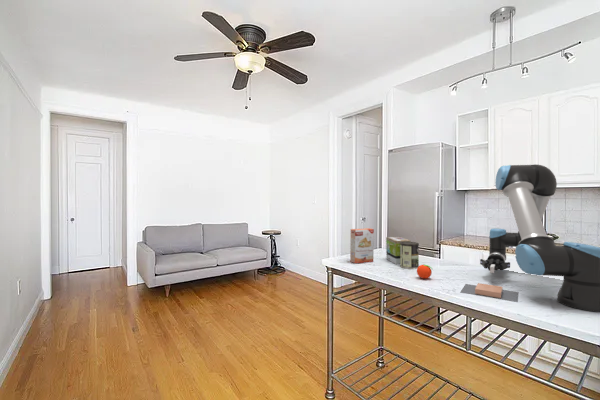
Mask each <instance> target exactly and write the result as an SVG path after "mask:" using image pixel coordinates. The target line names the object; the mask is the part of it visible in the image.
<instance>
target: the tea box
mask: <svg viewBox="0 0 600 400" xmlns="http://www.w3.org/2000/svg"><path fill="white" fill-rule="evenodd" d="M385 238H386V239H385V242H386V243H385V244H386V245H385V247H386V248H385V249H386V251H385V253H386V258H385V259H387V261H389V262H392V263H393V264H395V265H400V242H412V241H411V240H410V239H407V238H404V237H401V236H388V237H387V236H386V237H385Z"/></svg>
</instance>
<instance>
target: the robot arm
mask: <svg viewBox="0 0 600 400" xmlns="http://www.w3.org/2000/svg"><path fill="white" fill-rule="evenodd" d="M496 172H497V173H496V175H495V189H496V190H497V191H502V193H503V195H504V196H505V197H506V198H508V200H509V203H510V207H511V211H512V213H513V217H514V219H515V223H516V226H517V227H516V228H517V229H518V231H517V232H509V231H508V232H507V229H505V228H496V227H495V228H491V229H490V230H489V238H488V239H489V251H488V252H489V253H488V254H489V255H488V257H487V258H486V259H482V258H481V259H479V262H480V263H479V265H481V266H482V267H483V268H484V269H487V270H488V271H489V273H490V274H495V271H498V270H499V271H505V270H506V269H510V268H511V262H509V261H507V247H511V248H512V247H513V248H514V247H515V249H514V250H515V252H514V254H515V261H516V262H517V266H518V267H519V268H520V270H521V271H522V272H524V273H525V274H527V275H535V276H548V277H549V276H550V277H551V276H553V277H563V281H562V283H561V286H560V288H559V291H558V293H557V295H556V296H557V297H556V298H557V302H558V303H560V304H562V305H564V306H567V307H570V308H574V309H577V310H582V311H583V310H584V311H589V312H594V313H595V312H598V313H600V246H596V245H591V244H586V243H580V242H573V241H564V242H563V244H562V245H556V243H555V239H553V237H551V236H548V235H547V232H546V229H545V227H544V224H543V222H542V220H543V217H544V215H545V212H546V209H547V207H548V204H549V201H550V198H551V197H552V196H554V195H555V193H556V191H557V185H558V184H557V178H556V175H555V174H554V172H553V170H552V169H550V168H549V167H547V166H545V165H541V164H513V165H512V164H509V165H502V166H500V167H499V168H498V170H497V171H496ZM506 261H507V262H506Z"/></svg>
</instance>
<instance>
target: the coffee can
mask: <svg viewBox="0 0 600 400" xmlns="http://www.w3.org/2000/svg"><path fill="white" fill-rule="evenodd" d="M419 252H420V251H419V243H418V242H417V241H416V242H415V241H411V242H400V264H399V267H400V268H402V269H405V270H406V269H407V270H417V268H418V267H419V266H420V265H419V262H420V261H419V260H420V258H419Z"/></svg>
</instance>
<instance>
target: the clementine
mask: <svg viewBox="0 0 600 400" xmlns="http://www.w3.org/2000/svg"><path fill="white" fill-rule="evenodd" d="M416 274H417V275H418V277H419V278H421V279H424V280H427V279H429V278H430V277H431V276H432V267H431V266H430V265H429V264H420V265H419V267H418V268H417V269H416Z"/></svg>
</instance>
